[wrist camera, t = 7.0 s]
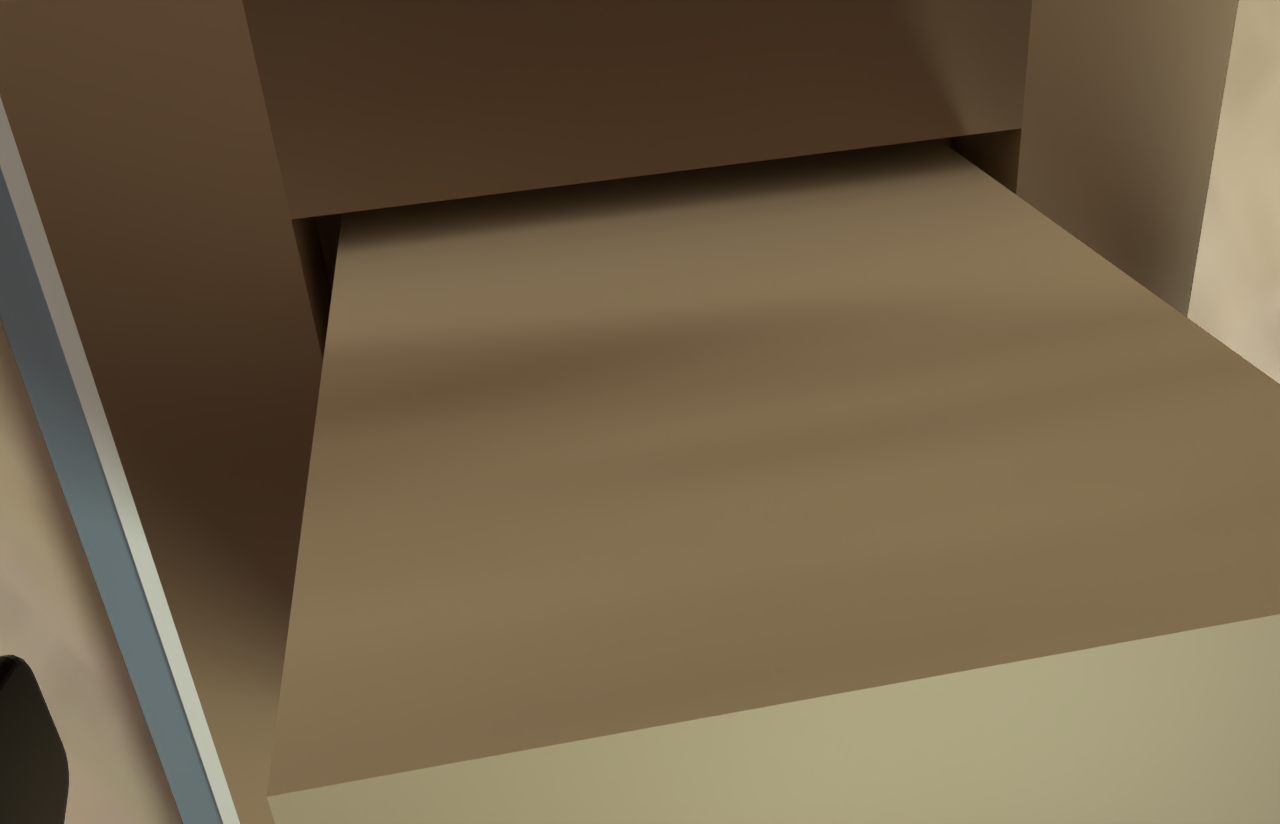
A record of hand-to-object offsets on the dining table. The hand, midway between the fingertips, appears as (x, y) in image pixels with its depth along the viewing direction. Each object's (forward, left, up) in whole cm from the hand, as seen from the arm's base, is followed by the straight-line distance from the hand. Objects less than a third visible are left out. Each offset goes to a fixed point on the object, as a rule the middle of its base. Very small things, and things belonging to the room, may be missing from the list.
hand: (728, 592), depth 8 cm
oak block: (0, 0, -3) cm, 3 cm away
